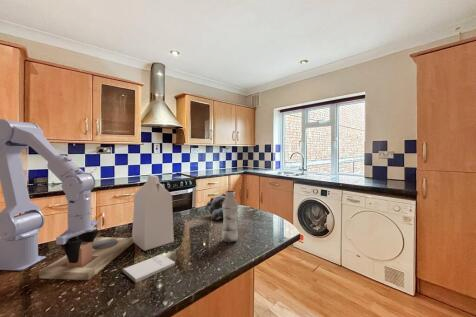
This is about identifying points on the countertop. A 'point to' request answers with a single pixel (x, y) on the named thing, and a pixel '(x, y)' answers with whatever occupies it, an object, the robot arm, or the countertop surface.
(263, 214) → the countertop surface
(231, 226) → the plastic bottle
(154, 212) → the milk
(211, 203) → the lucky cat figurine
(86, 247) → the terracotta block
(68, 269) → the pocket board
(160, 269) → the external hard drive
